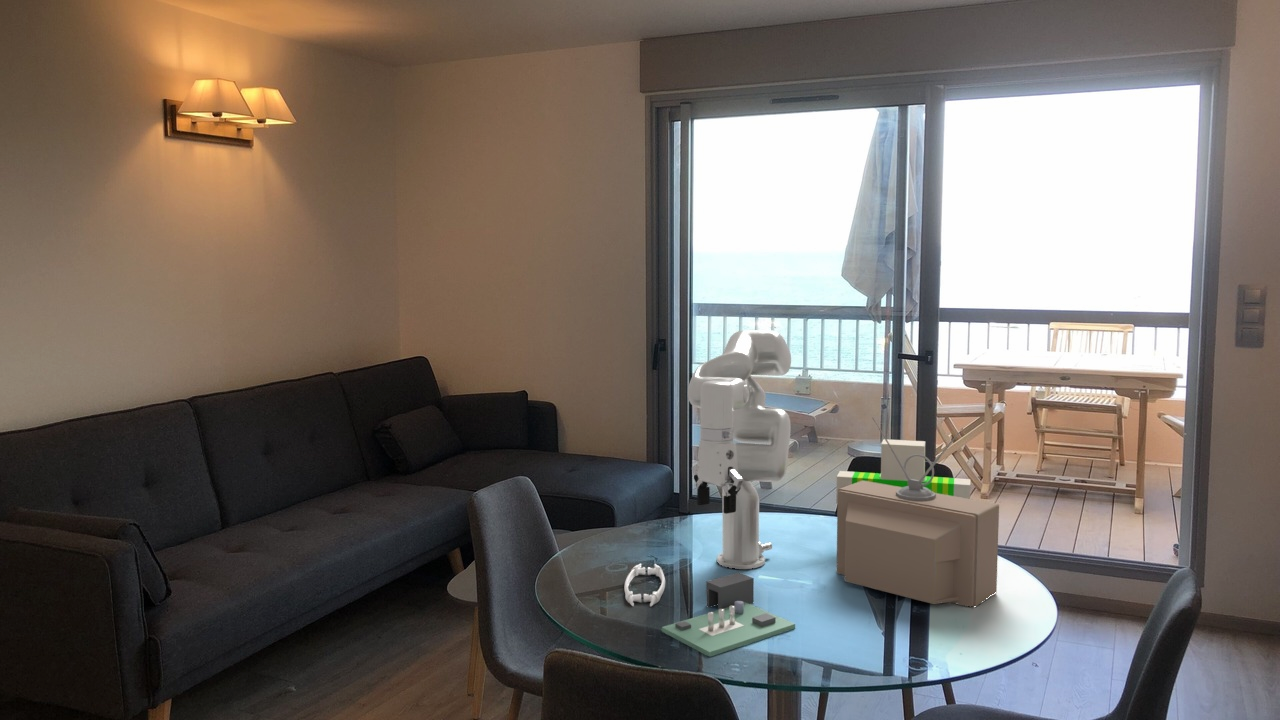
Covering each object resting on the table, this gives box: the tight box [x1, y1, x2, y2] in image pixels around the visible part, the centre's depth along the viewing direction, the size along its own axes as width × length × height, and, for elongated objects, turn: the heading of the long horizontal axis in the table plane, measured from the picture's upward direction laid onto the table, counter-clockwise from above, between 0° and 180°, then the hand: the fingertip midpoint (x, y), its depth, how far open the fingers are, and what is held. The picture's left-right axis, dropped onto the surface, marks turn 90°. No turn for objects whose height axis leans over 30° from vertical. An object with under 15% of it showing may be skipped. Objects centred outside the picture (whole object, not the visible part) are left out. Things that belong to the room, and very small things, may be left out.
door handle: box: [624, 563, 666, 608], centre depth 227 cm, size 3×10×25 cm
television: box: [836, 417, 1000, 608], centre depth 224 cm, size 36×20×40 cm, turn 47°
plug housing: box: [705, 572, 755, 610], centre depth 215 cm, size 10×5×6 cm, turn 126°
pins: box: [707, 605, 735, 632], centre depth 199 cm, size 7×1×4 cm, turn 126°
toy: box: [835, 438, 971, 505], centre depth 250 cm, size 34×7×30 cm, turn 71°
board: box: [661, 601, 796, 658], centre depth 201 cm, size 24×16×3 cm, turn 126°
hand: (716, 508), depth 215 cm, fingers open, 9 cm apart
